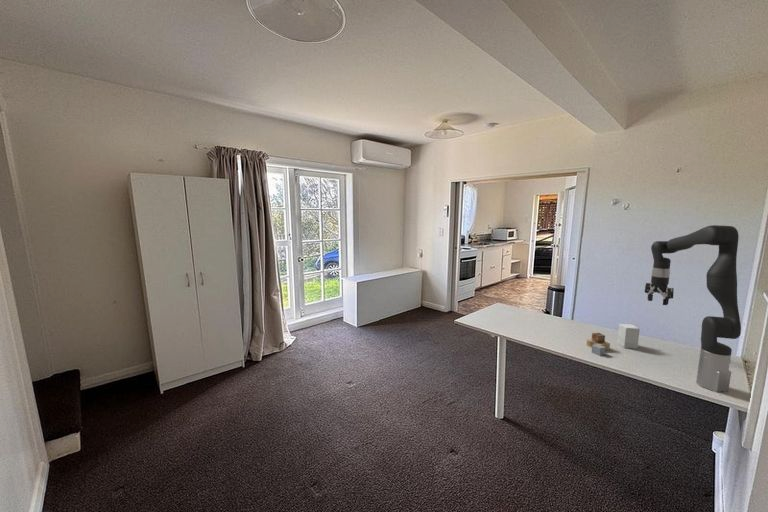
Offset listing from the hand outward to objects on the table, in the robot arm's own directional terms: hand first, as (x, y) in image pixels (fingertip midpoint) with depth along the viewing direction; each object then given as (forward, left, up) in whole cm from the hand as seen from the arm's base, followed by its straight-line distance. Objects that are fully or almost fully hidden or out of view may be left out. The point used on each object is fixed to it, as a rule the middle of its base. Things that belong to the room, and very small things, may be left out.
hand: (657, 302), depth 172 cm
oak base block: (+5, +30, -28) cm, 42 cm away
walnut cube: (+5, +30, -24) cm, 39 cm away
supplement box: (+5, +11, -28) cm, 31 cm away
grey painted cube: (-2, +36, -28) cm, 46 cm away
